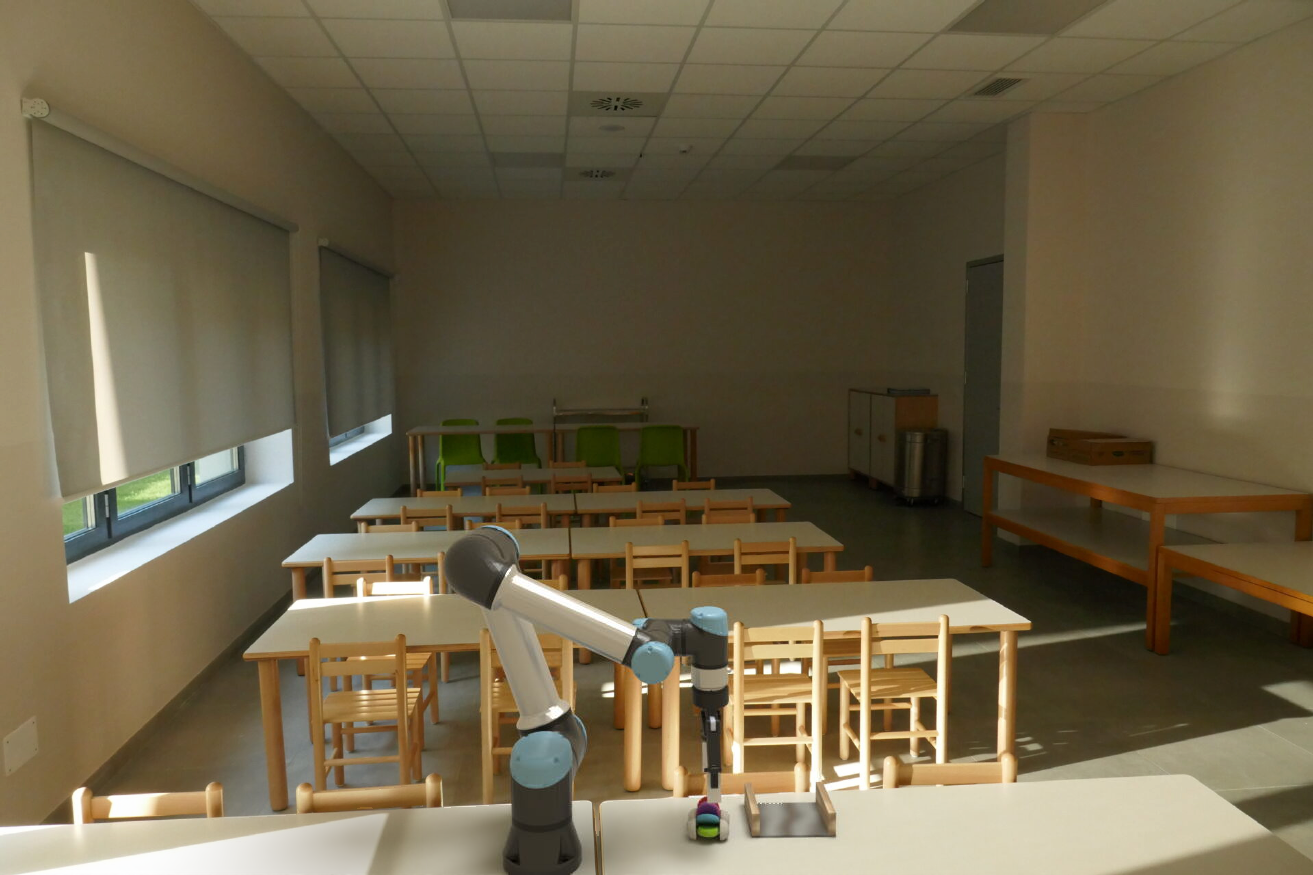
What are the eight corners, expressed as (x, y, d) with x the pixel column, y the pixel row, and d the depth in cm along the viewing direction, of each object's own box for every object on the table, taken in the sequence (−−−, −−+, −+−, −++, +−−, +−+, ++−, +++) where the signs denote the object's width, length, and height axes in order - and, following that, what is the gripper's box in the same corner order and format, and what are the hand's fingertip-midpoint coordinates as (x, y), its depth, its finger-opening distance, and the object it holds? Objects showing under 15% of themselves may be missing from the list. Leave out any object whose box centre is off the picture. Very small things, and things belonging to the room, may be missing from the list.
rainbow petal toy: (729, 822, 196) (729, 789, 195) (728, 846, 186) (728, 811, 185) (689, 820, 196) (689, 787, 196) (686, 844, 187) (686, 809, 186)
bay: (752, 837, 189) (752, 813, 189) (744, 804, 203) (744, 782, 203) (835, 836, 190) (836, 812, 189) (822, 803, 204) (822, 781, 203)
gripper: (734, 706, 176) (736, 815, 178) (723, 664, 201) (724, 759, 203) (695, 707, 176) (696, 816, 178) (688, 664, 201) (689, 760, 203)
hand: (711, 786), depth 190 cm, fingers open, 13 cm apart
